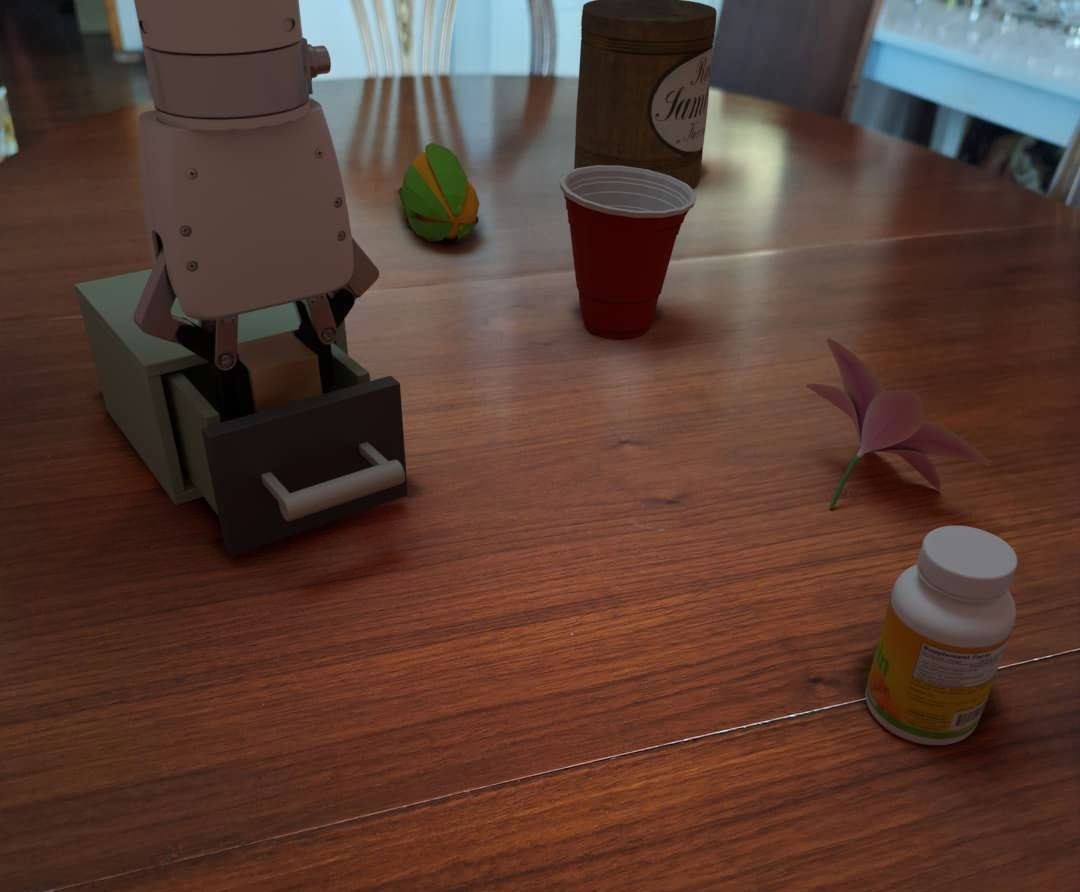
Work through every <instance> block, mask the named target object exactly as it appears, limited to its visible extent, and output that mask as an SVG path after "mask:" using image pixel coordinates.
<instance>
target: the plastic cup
mask: <svg viewBox="0 0 1080 892" xmlns="http://www.w3.org/2000/svg"><path fill="white" fill-rule="evenodd" d="M559 187H560V190H561V192H562V194H563V195H564V200H565V209H566V210H567V223H568V224H569V232H570V240H571V248H572V249H571V250H572V258H573V268H574V275H575V285H576V288H577V293H578V299H579V300H578V301H579V308H580V317H581V319H582V324H583V326H584V328H585V329H586V330H587V332H590V333H591V334H593V335H595V336H599V337H602V338H606V339H617V340H624V339H625V340H626V339H634V338H636V337H637V338H638V337H641V336H643V335H645V334H647V333H648V332H649V331H650V328H651V325H652V324H653V321H654V317H655V313H656V309H657V305H658V301H659V296H660V295H661V294H662V291H663V287H664V283H665V280H666V276H667V272H668V268H669V265H670V261H671V258H672V254H673V250H674V246H675V244H676V240H677V236H678V235H679V233H680V230H681V227H682V224H684V221H685V218H686V216H687V215H688V213H689V212H690V210H691V209H692V208H694V207H695V204H696V202H697V195H698V194H697V192H695V190H694V189H693V188H691V187H690V186H689V185H688V184H686V183H684V182H682V181H680V180H678V179H675V178H673V177H671V176H669V175H665V174H661V173H658V172H654V171H651V170H647V169H640V168H633V167H626V166H602V165H596V166H589V167H582V168H576V169H574V168H573V169H572V170H569V171H568V172H565V173H563V174H562V177H561V178H560V181H559Z"/></svg>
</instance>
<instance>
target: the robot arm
mask: <svg viewBox="0 0 1080 892" xmlns="http://www.w3.org/2000/svg"><path fill="white" fill-rule="evenodd" d="M133 3H134V7H135V13H136V18H137V22H138V28H139V32H140V33H139V34H140V39H141V42H142V49H143V55H144V59H145V65H146V71H147V75H148V76H147V77H148V80H149V85H150V91H151V95H152V102H153V105H154V110H147V111H144V112H142V113H140V115H138V159H139V161H138V162H139V173H140V187H141V194H142V195H141V197H142V202H143V203H142V206H143V213H144V220H145V229H146V237H147V243H148V250H149V255H150V262H151V266H152V268H151V269H152V272H151V274H150V276H149V279H148V281H147V284H146V286H145V288H144V291H143V293H142V296H141V298H140V300H139V303H138V305H137V308H136V310H135V312H134V316H133V319H134V322H135V323H136V325H137V326H138V327H139V328H140V329H141V330H142V331H143V332H144V333H146V334H149V335H152V336H155V337H158V338H160V339H163V340H166V341H169V342H174V343H177V344H180V345H182V346H183V347H185V348H186V349H188V350H190V351H192V352H193V353H195V354H197V355H198V356H200V357H202V358H203V359H205V360H207V361H209V362H210V367H211V373H212V378H213V383H214V389H215V394H216V399H217V403H218V406H219V408H220V410H221V412H222V413H223V414H224V415H225V416H228V415H230V416H231V417H232V418H233V419H236V418H240V417H243V416H247V415H250V414H254V413H255V411H254V405H253V399H252V393H251V387H250V381H249V375H248V371H247V368H246V366H245V365H244V364H243V363H242V362H241V361H240V360H239V355H238V353H237V339H238V315H239V314H244V313H248V312H253V311H257V310H262V309H266V308H270V307H275V306H279V305H283V304H287V303H292V302H293V305H294V308H295V311H296V314H297V317H298V319H299V322H300V325H299V329H298V330H294V333H295V335H294V336H295V337H296V338H298V339H299V340H300V341H301V342H302V343H304V344H305V345H306V346H307V347H308V348H309V349H311V350H312V351H313V352H314V353H315V354H317V356H318V363H319V371H320V379H321V388H322V394H326V393H330V387H332V386H334V385H335V376H334V367H333V359H332V350H331V344H332V343H334V342H335V341H336V339H337V337H338V330H337V329H338V327H339V326H340V325H341V323H342V322H343V320H344V319H345V320H346V318H347V316H348V314H349V313H350V312H351V310H352V309H353V308H354V305H355V303H356V300H357V299H360V298H361V297H362V296H363V295H364V294H365V293H366V292H367V291H368V290H369V289H370V288H371V287H372V286H373V285H374V284H375V283H376V282H377V281H378V279H379V277H380V271H379V268H378V267H377V266H376V265H375V264H374V262H373V261H372V259H371V258H370V257H369V256H368V255H367V254H366V252H365V251H364V250H363V249H362V247H361V246H360V245H359V244H358V242H357V240H355V239H354V238H353V235H352V230H351V222H350V215H349V210H348V204H347V198H346V193H345V192H346V191H345V188H344V181H343V179H342V174H341V169H340V165H339V161H338V157H337V153H336V149H335V145H334V142H333V139H332V135H331V132H330V129H329V125H328V121H327V118H326V115H325V113H324V109H323V107H322V105H321V103H320V102H319V101H317V100H316V99H314V98H312V97H310V95H313V94H314V91H313V79H315V78H317V77H318V76H319V75H327V74H329V73H330V72H331V69H332V67H331V66H332V61H331V56H330V53H329V50H328V48H327V47H326V46H325V45H315V46H313V45H312V44H310V43H308V39H307V38H306V37H303V36H304V35H303V26H302V18H301V8H300V0H133ZM176 297H178V301H179V304H180V307H181V309H182V311H183V312H184V314H185V315H186V316H188V317H190V318H193V319H198V325H196V324H194V323H193V322H191V321H190V320H188V319H186V318H183V317H177V316H174V315H173V314H171V308H172V306H173V304H174V301H175V299H176Z"/></svg>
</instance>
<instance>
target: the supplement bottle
mask: <svg viewBox="0 0 1080 892" xmlns="http://www.w3.org/2000/svg"><path fill="white" fill-rule="evenodd" d="M1017 567H1018V556H1017V554H1016V552H1015V550H1014V549H1013V547H1012V546H1011V545H1010V544H1008V542H1006V540H1004V539H1002V538H1001V537H999V536H998V535H996V534H993V533H991V532H988V531H986V530H984V529H981V528H976V527H973V526H967V525H945V526H941V527H937V528H934V529H932V530H931V531H930V532H928V533H927V534H926V535H925V537H924V538H923V541H922V543H921V547H920V550H919V553H918V557H917V561H916V564H914V565H912V566H910V567H909V568H907V569H905V570H904V571H903V572H901V574H900V575H899V576H898V577H897V578H896V581H895V582H894V585H893V588H892V590H891V593H890V596H889V601H888V605H887V608H886V612H885V616H884V620H883V622H882V623H883V624H882V628H881V631H880V635H879V639H878V642H877V646H876V649H875V653H874V657H873V660H872V663H871V667H870V671H869V674H868V678H867V682H866V687H865V695H864V696H865V701H866V705H867V708H868V709H869V711H870V713H871V715H872V716H873V717H874V718H875V720H876V721H877V722H878V723H879V724H880V725H881V726H883V727H884V729H886V730H887V731H889V732H890V733H891V734H893V735H896V736H897V737H899V738H901V739H903V740H906V741H908V742H912V743H915V744H921V745H925V746H946V745H952V744H957V743H959V742H961V741H963V740H965V739H967V738H968V737H969V736H970V735H971V734H972V733H974V731H975V729H976V728H977V726H978V724H979V721H980V720H981V717H982V714H983V711H984V709H985V706H986V704H987V701H988V698H989V695H990V692H991V689H992V687H993V684H994V682H995V679H996V676H997V673H998V670H999V667H1000V665H1001V663H1002V660H1003V656H1004V653H1005V651H1006V648H1007V646H1008V643H1009V641H1010V638H1011V635H1012V632H1013V629H1014V626H1015V622H1016V617H1017V608H1016V607H1017V606H1016V603H1015V600H1014V598H1013V595H1012V594H1011V593H1010V591H1009V590H1010V588H1011V586H1012V584H1013V581H1014V577H1015V573H1016V570H1017Z"/></svg>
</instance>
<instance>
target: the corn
mask: <svg viewBox="0 0 1080 892" xmlns="http://www.w3.org/2000/svg"><path fill="white" fill-rule="evenodd" d="M398 196H399V198H400V202H401V204H402V207H403V209H404V213H405V214H406V218H407V220H408V223H409V225H410V227H411V229H412V231H413V232H414V233H415V234H416V235H417V236H420V238H423V239H425V240H427V241H428V242H430V243H433V242H435V243H436V242H442V241H443V240H444V239H448V240H449V239H450V240H452V239H453V240H455V241H456V242H457V241H459V240H460V239H462V238H464V237H465V236H467V235H469V234H470V233H471V232H472V231H473V229H474V228H475V227H476V226H477V225H478V223H479V216H478V213H479V208H480V201H479V197H478V195H477V191H476V189H475V188H474V186H472V184H471V183H470V182H469V180H468V176H467V174H466V172H465V170H464V169H463V167H462V164H461V162H460V160H459V159H458V156H457V155H456V154H454V152H452V150H451V149H449V148H447V147H445V146H444V145H443V146H442V145H440V144H437V143H435V142H430V143H428V144H426V145H425V147H424V151H422V152H421V153H419V154H418V155H417V156H416V157H414V159H413V162H412V164H411V165H410V166H408V167H407V169H406V170H405V172H404V175H403V179H402V186H401V187H399V189H398ZM416 214H417V215H418V216H417V215H416Z"/></svg>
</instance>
